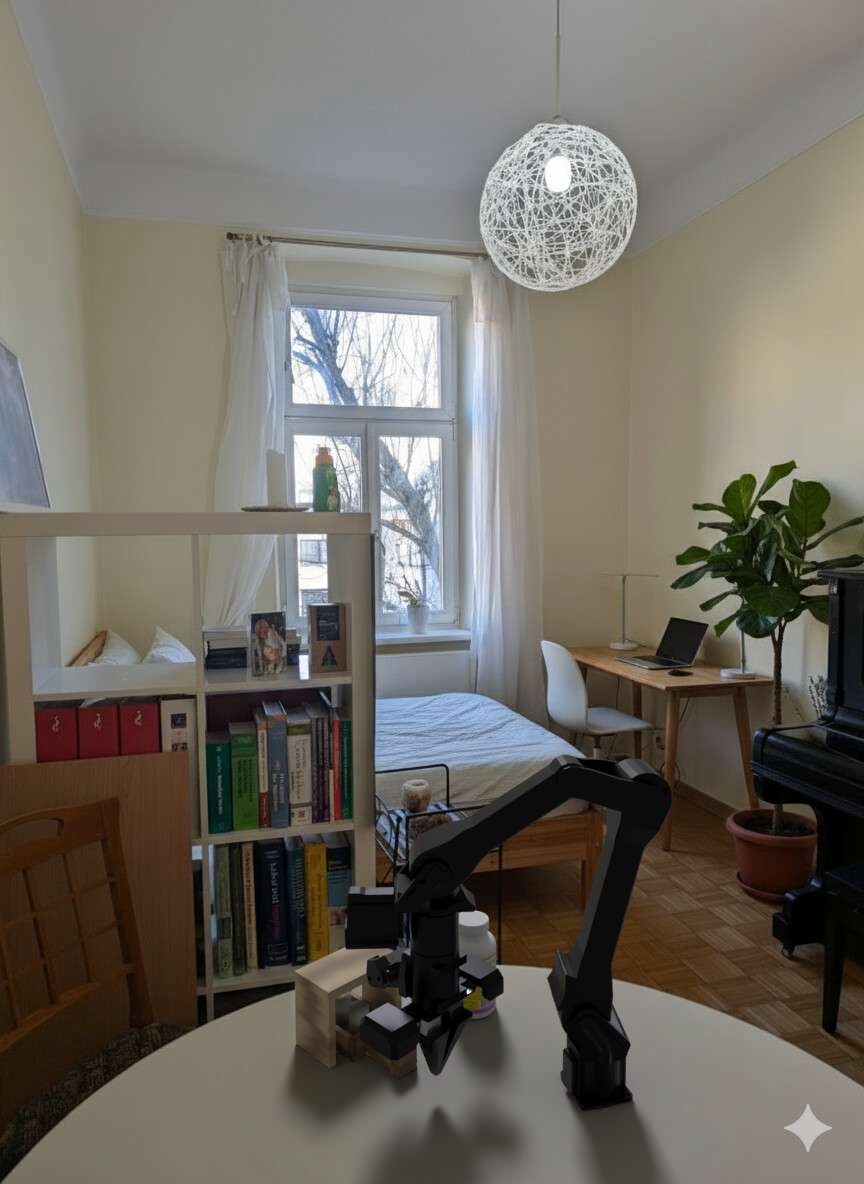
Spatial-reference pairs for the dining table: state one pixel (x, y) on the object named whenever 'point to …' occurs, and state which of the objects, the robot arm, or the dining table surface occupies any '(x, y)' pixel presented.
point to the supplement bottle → (477, 956)
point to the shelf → (333, 997)
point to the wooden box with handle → (348, 1035)
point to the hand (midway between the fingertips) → (435, 1073)
